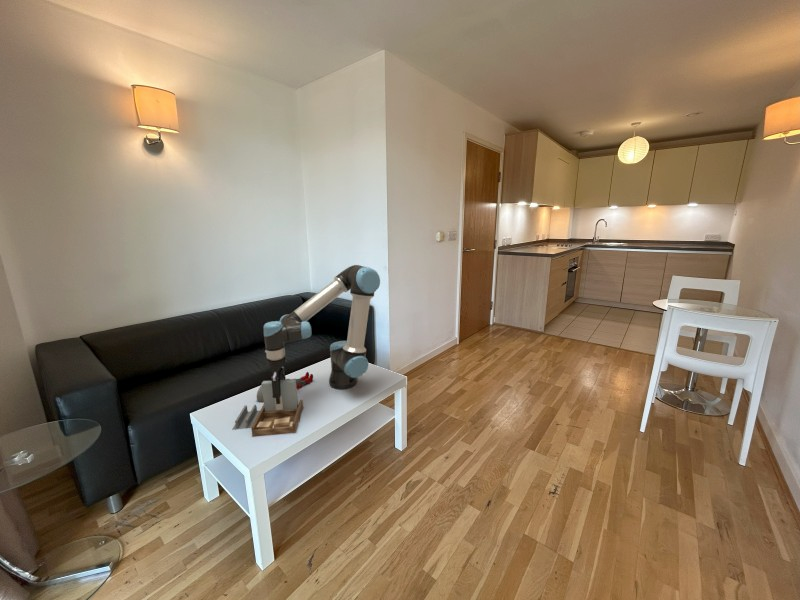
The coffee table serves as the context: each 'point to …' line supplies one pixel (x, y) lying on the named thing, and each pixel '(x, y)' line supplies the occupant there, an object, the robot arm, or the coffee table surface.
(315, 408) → the coffee table surface
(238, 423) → the stand
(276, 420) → the offcut
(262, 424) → the offcut
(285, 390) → the grey flat slab
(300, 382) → the toy
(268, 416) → the rack
